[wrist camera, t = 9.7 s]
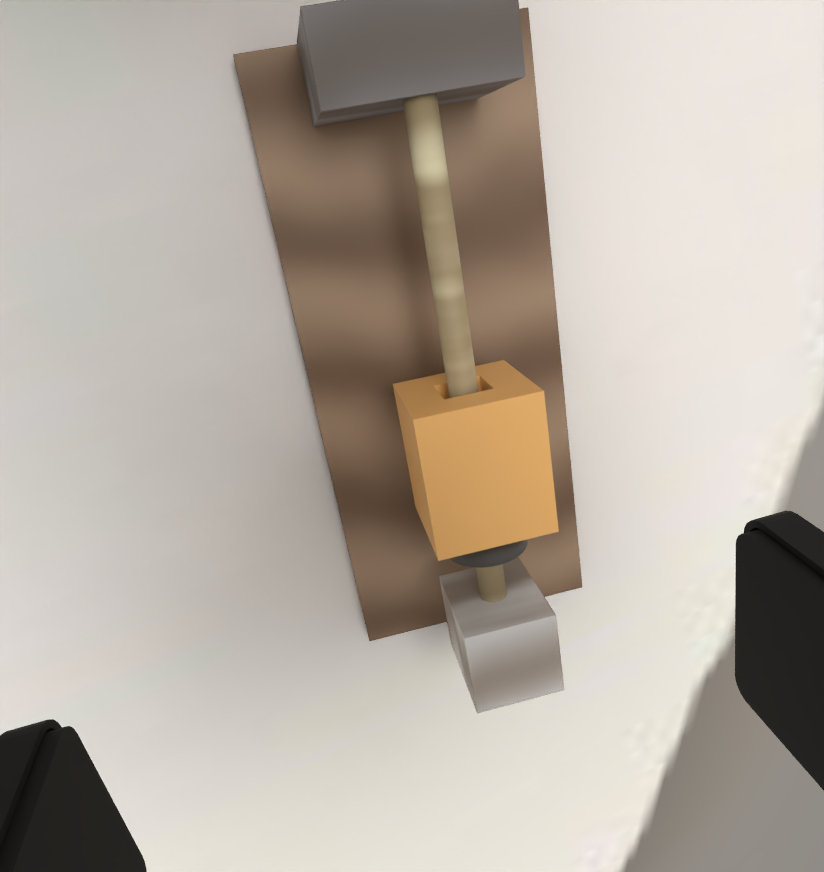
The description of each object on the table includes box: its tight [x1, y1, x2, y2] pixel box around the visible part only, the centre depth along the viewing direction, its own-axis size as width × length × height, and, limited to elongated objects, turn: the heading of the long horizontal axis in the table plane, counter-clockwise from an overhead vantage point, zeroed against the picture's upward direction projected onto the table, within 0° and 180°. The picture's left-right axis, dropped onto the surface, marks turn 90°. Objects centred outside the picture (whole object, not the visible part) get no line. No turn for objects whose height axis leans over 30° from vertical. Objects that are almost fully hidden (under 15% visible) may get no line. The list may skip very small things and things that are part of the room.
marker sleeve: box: [393, 360, 559, 561], centre depth 29 cm, size 6×5×5 cm
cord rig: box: [233, 0, 582, 713], centre depth 29 cm, size 28×12×8 cm, turn 10°
